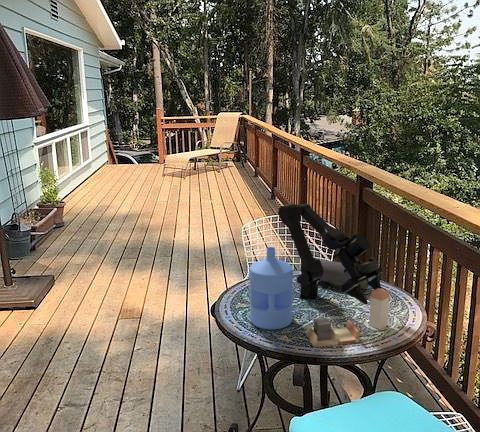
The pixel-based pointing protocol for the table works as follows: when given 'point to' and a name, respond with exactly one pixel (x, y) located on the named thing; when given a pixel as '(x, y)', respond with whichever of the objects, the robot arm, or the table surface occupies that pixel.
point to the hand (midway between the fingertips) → (374, 300)
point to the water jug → (271, 292)
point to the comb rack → (331, 333)
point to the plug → (379, 308)
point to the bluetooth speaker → (337, 274)
